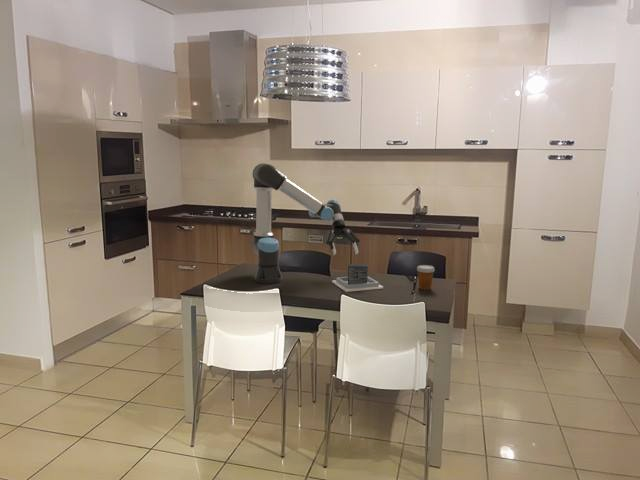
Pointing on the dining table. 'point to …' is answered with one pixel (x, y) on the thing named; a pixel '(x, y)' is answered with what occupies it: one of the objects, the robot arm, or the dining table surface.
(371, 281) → the tray
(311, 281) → the dining table surface
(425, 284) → the pill bottle
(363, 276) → the small box
